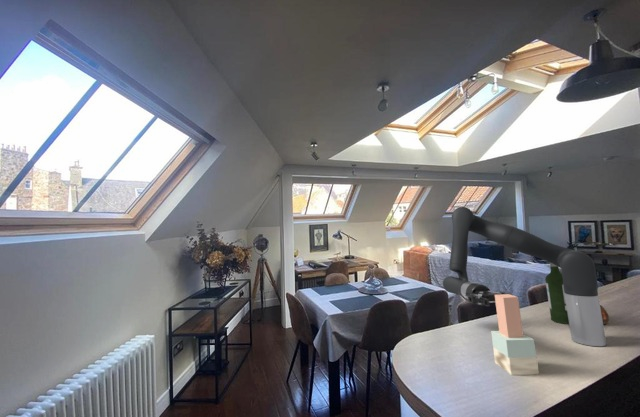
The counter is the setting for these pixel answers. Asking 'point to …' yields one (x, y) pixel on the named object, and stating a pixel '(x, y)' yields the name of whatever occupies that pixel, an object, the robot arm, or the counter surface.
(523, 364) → the tower base block
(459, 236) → the robot arm
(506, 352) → the tower top block
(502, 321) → the peach block
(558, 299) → the wine bottle
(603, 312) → the tin
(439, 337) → the counter surface
